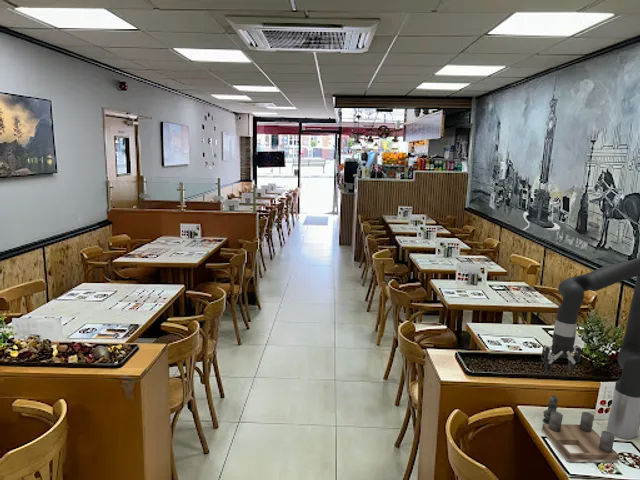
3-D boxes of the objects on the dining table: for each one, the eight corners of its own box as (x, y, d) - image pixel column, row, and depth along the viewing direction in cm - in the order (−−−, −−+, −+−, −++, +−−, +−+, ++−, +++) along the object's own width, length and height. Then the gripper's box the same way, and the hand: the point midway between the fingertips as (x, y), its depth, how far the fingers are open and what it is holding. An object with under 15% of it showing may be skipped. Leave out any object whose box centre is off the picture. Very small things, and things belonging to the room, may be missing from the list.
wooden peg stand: (586, 431, 187) (590, 410, 186) (617, 462, 170) (622, 439, 168) (541, 431, 186) (545, 409, 184) (567, 462, 169) (571, 438, 167)
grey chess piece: (554, 418, 195) (559, 391, 193) (560, 427, 189) (565, 399, 187) (539, 417, 196) (544, 390, 193) (544, 425, 190) (549, 397, 187)
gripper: (577, 328, 188) (571, 367, 192) (541, 328, 188) (535, 367, 191) (588, 336, 181) (582, 376, 184) (551, 335, 180) (545, 376, 184)
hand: (558, 371), depth 188 cm, fingers open, 8 cm apart
